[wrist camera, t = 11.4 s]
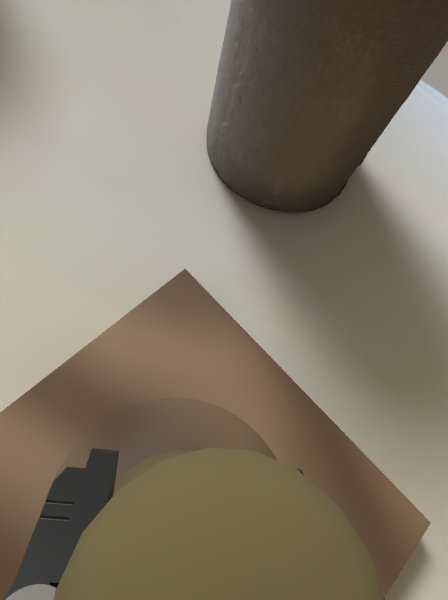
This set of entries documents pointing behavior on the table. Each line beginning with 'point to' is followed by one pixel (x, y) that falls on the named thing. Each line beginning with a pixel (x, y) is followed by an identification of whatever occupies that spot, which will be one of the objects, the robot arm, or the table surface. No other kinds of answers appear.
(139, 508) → the cork
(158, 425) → the walnut board
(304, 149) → the pillar candle
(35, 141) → the table surface
